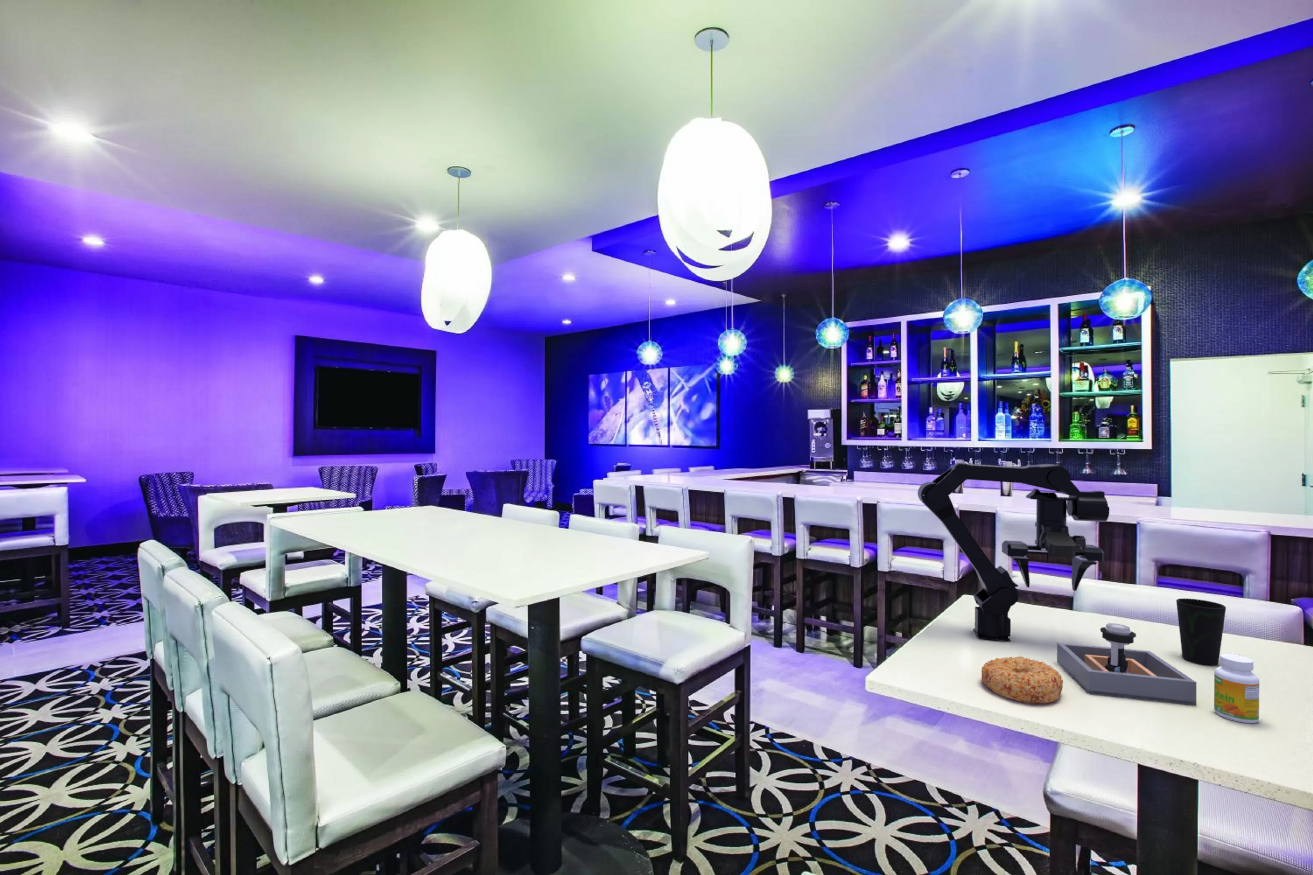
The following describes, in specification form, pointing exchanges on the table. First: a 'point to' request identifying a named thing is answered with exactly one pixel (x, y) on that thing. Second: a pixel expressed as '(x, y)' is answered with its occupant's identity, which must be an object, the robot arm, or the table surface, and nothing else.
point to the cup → (1200, 630)
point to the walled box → (1126, 675)
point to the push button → (1117, 646)
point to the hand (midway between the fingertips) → (1050, 588)
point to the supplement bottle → (1236, 689)
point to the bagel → (1022, 680)
